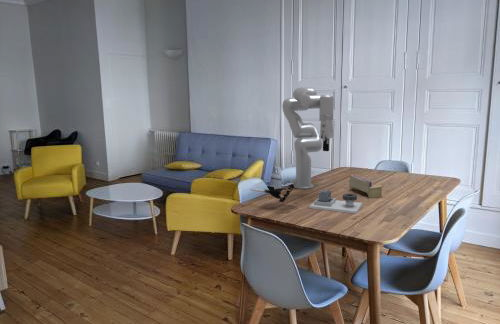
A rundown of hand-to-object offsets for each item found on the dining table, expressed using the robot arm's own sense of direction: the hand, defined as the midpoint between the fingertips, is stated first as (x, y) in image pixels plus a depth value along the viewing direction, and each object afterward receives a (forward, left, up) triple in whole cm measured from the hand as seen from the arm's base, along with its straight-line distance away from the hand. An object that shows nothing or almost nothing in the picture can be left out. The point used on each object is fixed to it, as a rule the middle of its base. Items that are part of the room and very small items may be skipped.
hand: (325, 150), depth 215 cm
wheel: (+17, -15, -22) cm, 32 cm away
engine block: (+4, -15, -26) cm, 30 cm away
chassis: (+10, -15, -27) cm, 33 cm away
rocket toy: (-22, -30, -28) cm, 46 cm away
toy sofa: (+19, +18, -28) cm, 38 cm away
